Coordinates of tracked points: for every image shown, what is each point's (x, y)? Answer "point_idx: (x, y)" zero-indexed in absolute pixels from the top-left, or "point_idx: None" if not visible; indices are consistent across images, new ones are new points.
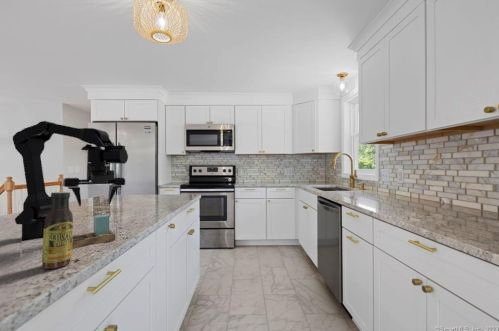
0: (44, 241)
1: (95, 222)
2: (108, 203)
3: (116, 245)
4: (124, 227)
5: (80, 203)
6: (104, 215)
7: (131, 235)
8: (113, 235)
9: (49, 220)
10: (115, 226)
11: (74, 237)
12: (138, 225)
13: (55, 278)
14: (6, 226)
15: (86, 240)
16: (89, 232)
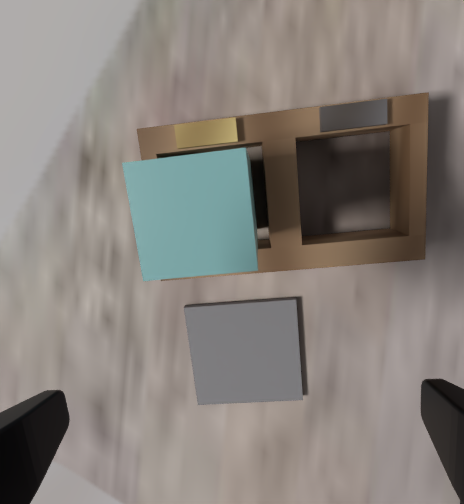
0: None
1: (250, 186)
2: (68, 420)
3: (154, 31)
4: (80, 414)
5: (453, 396)
6: (164, 224)
7: (58, 206)
8: (150, 129)
9: None
10: (123, 466)
11: (362, 239)
12: None
13: None
14: None
15: (309, 110)
16: (261, 401)
